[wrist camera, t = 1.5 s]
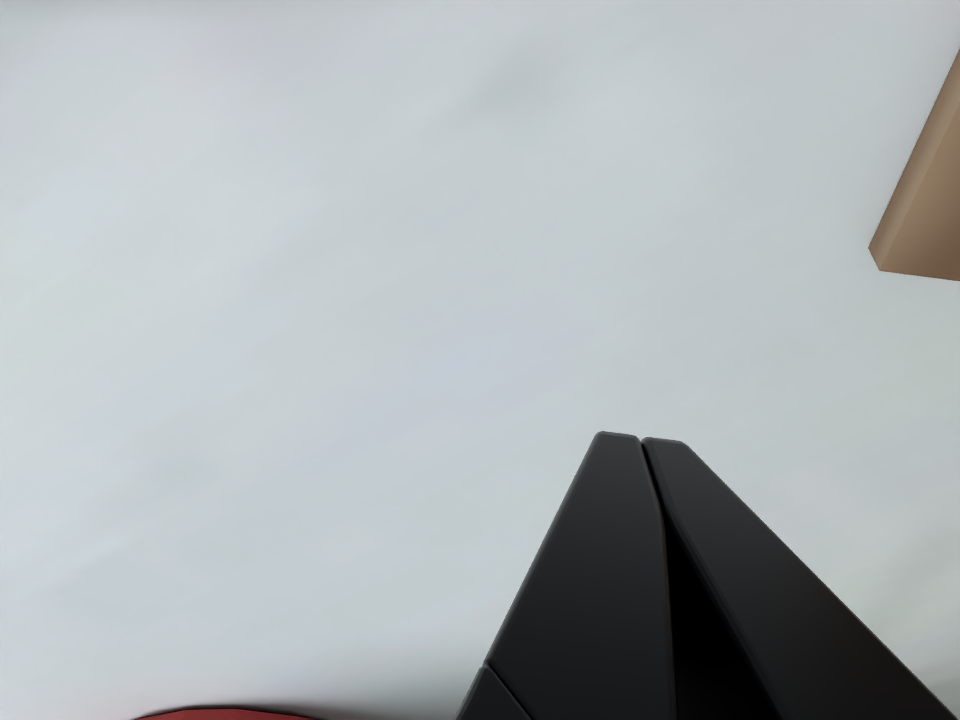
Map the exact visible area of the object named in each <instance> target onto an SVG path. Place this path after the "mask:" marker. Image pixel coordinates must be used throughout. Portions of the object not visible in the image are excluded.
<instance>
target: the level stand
mask: <svg viewBox="0 0 960 720" xmlns="http://www.w3.org/2000/svg"><path fill="white" fill-rule="evenodd" d="M868 249H869V251H870V253H871V255H872V257H873V259H874V261H875V263H876V265H877V267H878V269H879V271H885V272H893V273H901V274H908V275H916V276H924V277H932V278H939V279H947V280H955V281H960V49H959V52H958V54H957V56H956V58H955V60H954V62H953V65H952V67H951V69H950V71H949V73H948V76H947V78H946V80H945V82H944V84H943V86H942V89H941V91H940V93H939V95H938V97H937V99H936V102H935V104H934V106H933V108H932V110H931V112H930V115H929V117H928V119H927V121H926V123H925V126H924V128H923V130H922V132H921V134H920V136H919V139H918V141H917V143H916V145H915V147H914V149H913V152H912V154H911V156H910V158H909V160H908V163H907V165H906V167H905V169H904V171H903V173H902V176H901V178H900V180H899V182H898V184H897V186H896V189H895V191H894V193H893V195H892V197H891V200H890V202H889V204H888V206H887V208H886V210H885V213H884V215H883V217H882V219H881V221H880V223H879V226H878V228H877V230H876V232H875V234H874V236H873V239H872V241H871V243H870V245H869V247H868Z"/></svg>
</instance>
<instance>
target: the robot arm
mask: <svg viewBox="0 0 960 720" xmlns="http://www.w3.org/2000/svg"><path fill="white" fill-rule="evenodd" d="M453 720H958V719H957V717H956V716H955V715H954V714H953V713H952V712H951V711H950V710H949V709H948V708H947V707H946V706H945V705H944V704H943V703H942V702H941V701H940V700H939V699H938V698H937V697H936V696H935V695H934V694H933V693H932V692H931V691H930V690H929V689H928V688H927V687H926V686H925V685H924V684H923V683H922V682H921V681H920V680H919V679H918V678H917V677H916V676H915V675H914V674H913V673H912V672H911V671H910V670H909V669H908V668H907V667H906V666H905V665H904V664H903V663H902V662H901V661H900V660H899V659H898V658H897V657H896V656H895V655H894V654H893V653H892V652H891V651H890V650H889V648H888V647H887V646H886V645H885V644H884V643H883V642H882V641H881V640H880V639H879V638H878V637H877V636H876V635H875V634H874V633H873V632H872V631H871V630H870V629H869V628H868V627H867V626H866V625H865V624H864V623H863V622H862V621H861V620H860V619H859V618H858V617H857V616H856V615H855V614H854V613H853V612H852V611H851V610H850V609H849V608H848V607H847V606H846V605H845V604H844V603H843V602H842V601H841V600H840V599H839V598H838V597H837V596H836V595H835V594H834V593H833V592H832V591H831V590H830V589H829V588H828V587H827V586H826V585H825V584H824V583H823V582H822V581H821V580H820V579H819V578H818V577H817V576H816V575H815V574H814V573H813V572H812V571H811V570H810V569H809V568H808V567H807V566H806V565H805V564H804V563H803V562H802V561H801V560H800V559H799V558H798V557H797V556H796V555H795V554H794V553H793V551H792V550H791V549H790V548H789V547H788V546H787V545H786V544H785V543H784V542H783V541H782V540H781V539H780V538H779V537H778V536H777V535H776V534H775V533H774V532H773V531H772V530H771V529H770V528H769V527H768V526H767V525H766V524H765V523H764V522H763V521H762V520H761V519H760V518H759V517H758V516H757V515H756V514H755V513H754V512H753V511H752V510H751V509H750V508H749V507H748V506H747V505H746V504H745V503H744V502H743V501H742V500H741V499H740V498H739V497H738V496H737V495H736V494H735V493H734V492H733V491H732V490H731V489H730V488H729V487H728V486H727V485H726V484H725V483H724V482H723V481H722V480H721V479H720V478H719V477H718V476H717V475H716V474H715V473H714V472H713V471H712V470H711V469H710V468H709V467H708V466H707V465H706V464H705V463H704V462H703V461H702V460H701V459H700V458H699V457H698V456H697V455H696V453H695V452H694V451H693V450H692V449H691V448H690V447H689V446H687V445H686V444H684V443H683V442H681V441H676V440H668V439H660V438H652V437H646V438H644V439H642V440H641V441H640V440H639V439H638V438H637V437H636V436H634V435H629V434H621V433H613V432H605V431H601V432H598V433H597V434H596V435H595V437H594V439H593V441H592V443H591V445H590V447H589V449H588V451H587V453H586V455H585V457H584V459H583V461H582V463H581V465H580V467H579V469H578V471H577V473H576V475H575V477H574V479H573V481H572V483H571V485H570V487H569V489H568V491H567V493H566V495H565V497H564V499H563V501H562V504H561V506H560V508H559V510H558V512H557V514H556V516H555V518H554V520H553V522H552V524H551V526H550V528H549V530H548V532H547V534H546V536H545V538H544V540H543V542H542V544H541V546H540V548H539V550H538V552H537V554H536V556H535V558H534V560H533V562H532V564H531V566H530V568H529V571H528V573H527V575H526V577H525V579H524V581H523V583H522V585H521V587H520V589H519V591H518V593H517V595H516V597H515V599H514V601H513V603H512V605H511V607H510V609H509V611H508V613H507V615H506V617H505V619H504V621H503V623H502V625H501V627H500V629H499V631H498V633H497V635H496V638H495V640H494V642H493V644H492V646H491V648H490V650H489V652H488V654H487V656H486V658H485V660H484V662H483V666H482V667H481V668H480V669H479V670H478V672H477V674H476V676H475V678H474V680H473V682H472V684H471V686H470V688H469V690H468V692H467V695H466V697H465V699H464V701H463V703H462V705H461V706H460V708H459V710H458V712H457V714H456V716H455V717H454V719H453Z"/></svg>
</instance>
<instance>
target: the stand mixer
mask: <svg viewBox="0 0 960 720" xmlns="http://www.w3.org/2000/svg"><path fill="white" fill-rule="evenodd" d="M136 720H315V719H311V718H305V717H297V716H289V715H281V714H273V713H264V712H256V711H248V710H240V709H200V710H184V711H178V712H173V713H168V714H162V715H157V716H152V717H147V718H141V719H136Z"/></svg>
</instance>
